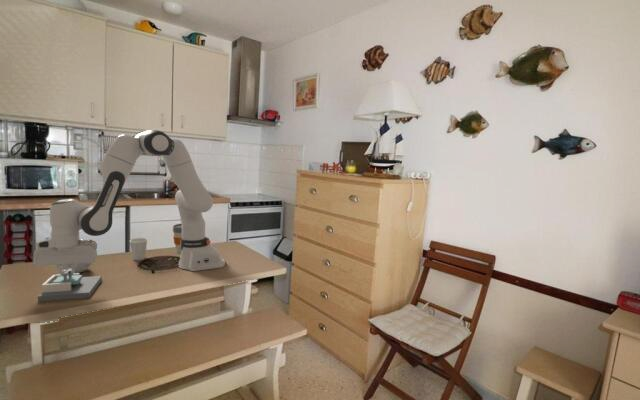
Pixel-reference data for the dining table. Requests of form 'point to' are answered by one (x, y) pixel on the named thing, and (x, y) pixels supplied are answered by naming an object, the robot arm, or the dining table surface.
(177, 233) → the reusable coffee cup
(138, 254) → the dixie cup
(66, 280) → the trolley
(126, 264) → the dining table surface
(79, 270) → the teacup
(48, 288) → the dock
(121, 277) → the dining table surface
